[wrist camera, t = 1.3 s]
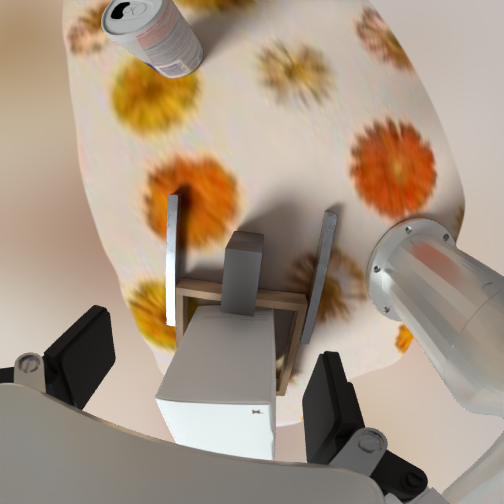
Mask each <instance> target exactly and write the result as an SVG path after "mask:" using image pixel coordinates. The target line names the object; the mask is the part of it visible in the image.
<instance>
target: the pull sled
mask: <svg viewBox="0 0 504 504" xmlns="http://www.w3.org/2000/svg"><path fill="white" fill-rule="evenodd" d="M263 240H264V235H263V234H255V233H247V232H239V231H234V233H233V235H232V237H231V239H230V241H229V242H228V244H227V246H226V248H225V260H224V272H223V284H220V283H213V282H206V281H200V280H193V279H186V278H182V279H181V280H180V282H179V283H178V285H177V286H176V345H177V349H178V346H179V344H180V342H181V340H182V338H183V336H184V334H185V332H186V330H187V328H188V313H189V296H190V297H196V298H203V299H209V300H216V301H221V310H220V312H223V313H230V314H237V315H244V316H252V317H254V311H255V306H260V307H268V308H276V309H285V310H294V315H293V320H292V324H291V329H290V334H289V338H288V342H287V347H286V351H285V356H284V360H283V364H282V368H281V372H280V376H279V378H276V396H285V392H286V389H287V385H288V382H289V378H290V374H291V371H292V367H293V363H294V359H295V355H296V352H297V348H298V344H299V340H300V336H301V332H302V327H303V323H304V319H305V315H306V310H307V306H308V304H307V300H306V296H305V294H299V293H291V292H282V291H274V290H266V289H258V282H259V274H260V267H261V259H262V251H263Z"/></svg>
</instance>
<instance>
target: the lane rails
mask: <svg viewBox="0 0 504 504" xmlns="http://www.w3.org/2000/svg"><path fill="white" fill-rule="evenodd" d="M181 209H182V194H179V193H172V194H169V196H168V214H167V243H166V302H167V325H171V326H176V286H177V285H178V283H179V251H180V227H181ZM336 221H337V214H335V213H334V212H327V211H325V213H324V219H323V225H322V230H321V236H320V242H319V247H318V252H317V258H316V263H315V268H314V273H313V278H312V282H311V287H310V292H309V297H308V301H307V304H308V306H307V310H306V315H305V319H304V323H303V327H302V332H301V336H300V344H309V342H310V338H311V334H312V330H313V327H314V323H315V319H316V315H317V311H318V307H319V302H320V298H321V294H322V290H323V285H324V281H325V276H326V272H327V267H328V262H329V257H330V253H331V248H332V242H333V237H334V232H335V226H336Z"/></svg>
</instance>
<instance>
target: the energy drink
mask: <svg viewBox="0 0 504 504" xmlns="http://www.w3.org/2000/svg"><path fill="white" fill-rule="evenodd" d="M101 25H102V29H103V30H104V32H105V34H106V35H107V37H108V38H109V39H110V40H112V41H113V42H115V43H116V44H118V45H119V46H121V47H122V48H124V49H125V50H127V51H128V52H130V53H131V54H133V55H134V56H136V57H137V58H139V59H140V60H141V61H143V62H144V63H146V64H147V65H148V66H150V67H151V68H153V69H154V70H155V71H157V72H158V73H160V74H161V75H163V76H164V77H167V78H180V77H184V76H186V75H188V74H190V73H191V72H193V71H194V70H195V69H196V68H197V67H198V65H199V64H200V62H201V60H202V57H203V48H202V45H201V43H200V42H199V40H198V39H197V37H196V36H195V34H194V33H193V31H192V29H191V28H190V26H189V25H188V23H187V22H186V20H185V19H184V17H183V16H182V14H181V13H180V11H179V10H178V8H177V7H176V5H175V4H174V2H173V1H172V0H112V1H111V2H110V4H109V5H108V6H107V8H106V9H105V11H104V13H103V16H102V20H101Z"/></svg>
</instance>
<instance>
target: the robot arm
mask: <svg viewBox="0 0 504 504" xmlns="http://www.w3.org/2000/svg"><path fill="white" fill-rule="evenodd" d="M406 227H407V229H406ZM375 266H376V267H375ZM374 267H375V268H374ZM366 280H367V290H368V293H369V297H370V299H371V301H372V303H373V304H374V306H375V307H376V308H377V310H378V311H379V312H380V313H381V314H382V315H383V316H385V317H387V318H389V319H391V320H395V321H402V322H403V323H404V324H405V325H406V327H407V328H408V330H409V331H410V332H411V334H412V335H413V337H414V338H415V340H416V341H417V342H418V344H419V345H420V347H421V348H422V350H423V351H424V353H425V354H426V355H427V357H428V358H429V360H430V361H431V363H432V364H433V366H434V367H435V369H436V371H437V372H438V373H439V375H440V377H441V378H442V380H443V381H444V383H445V385H446V386H447V387H448V389H449V390H450V392H451V393H452V395H453V397H454V398H455V399H456V401H457V402H458V403H459V404H460V405H461V406H462V407H463V408H465V409H466V410H468V411H470V412H473V413H476V414H483V415H495V416H499V417H502V418H503V419H504V276H502V275H500V274H499V273H497V272H496V271H494V270H492V269H491V268H489V267H488V266H486V265H484V264H483V263H481V262H480V261H478V260H476V259H475V258H473V257H471V256H469V255H468V254H466V253H464V252H462V251H461V250H459V249H457V247H456V244H455V241H454V239H453V237H452V235H451V234H450V232H449V231H448V230H447V229H446V228H445V227H444V226H442V225H441V224H439V223H438V222H435V221H433V220H430V219H426V218H413V219H409V220H406V221H404V222H402V223H399V224H397V225H396V226H395V227H393V228H392V229H391V230H389V231H388V232H387V233H386V234H385V235H384V236H383V238H382V239H381V240H380V241H379V243H378V244H377V246H376V247H375V249H374V251H373V254H372V256H371V258H370V261H369V265H368V269H367V277H366ZM115 358H116V357H115V350H114V344H113V336H112V328H111V319H110V313H109V312H107V309H106V308H104V307H101V306H98V305H94V306H92V307H91V308H90V309H89V310H88V311H87V312H86V313H85V314H84V315H83V316H81V317H80V318H79V319H78V320H77V321H76V322H75V323H74V324H73V325H72V326H71V327H70V328H69V329H68V330H67V331H66V332H65V333H63V334H62V336H60V337H59V338H58V339H57V340H56V341H55V342H54V343H53V344H52V345H51V346H50V347H49V348H48V349H47V350H46V351H45V352H44V356H43V357H41V356H40V355H38V354H36V353H25V354H23V355H21V356H19V357H18V358H17V360H16V361H15V366H14V367H9V368H2V369H0V504H504V431H503V433H502V434H501V435H500V436H499V438H498V439H497V440H496V441H495V442H494V444H493V445H492V446H491V447H490V448H489V449H488V450H487V451H486V452H485V453H484V455H482V456H481V457H480V458H479V459H478V460H477V461H476V462H475V463H474V464H473V465H472V466H471V467H470V468H469V469H468V470H467V471H465V472H464V473H463V474H462V475H461V476H460V477H459V478H458V479H457V480H456V481H454V482H453V483H452V484H451V485H450V486H449V487H448V488H447V489H446V490H445V491H444V492H443V493H442V494H441V495H440V494H439V493H438V492H437V491H436V490H435V489H434V488H433V487H432V488H431V489H430V488H428V487H427V484H428V479H427V476H426V474H425V473H424V471H422V470H421V469H419V468H418V467H416V466H414V465H412V464H411V463H409V462H407V461H405V460H404V459H402V458H400V457H398V456H397V455H395V454H393V453H392V452H390V451H388V450H387V446H388V443H387V439H386V437H385V436H384V435H383V433H382V432H380V431H379V430H377V429H374V428H365V425H364V421H363V417H362V414H361V411H360V407H359V404H358V400H357V397H356V393H355V390H354V387H353V384H352V383H351V382H347V379H346V376H345V372H344V369H343V366H342V362H341V359H340V356H339V353H338V352H331V351H325V352H324V354H320V355H319V357H318V360H317V362H316V365H315V368H314V370H313V373H312V375H311V378H310V380H309V383H308V386H307V388H306V390H305V393H304V395H303V400H302V406H303V417H304V427H305V428H304V429H305V442H306V455H307V463H299V462H285V461H274V460H264V459H256V458H248V457H240V456H234V455H227V454H222V453H216V452H211V451H206V450H201V449H197V448H192V447H188V446H184V445H180V444H175V443H172V442H168V441H164V440H161V439H158V438H154V437H151V436H148V435H144V434H141V433H139V432H136V431H133V430H130V429H127V428H124V427H121V426H119V425H116V424H113V423H111V422H108V421H106V420H103V419H101V418H98V417H96V416H94V415H91V414H89V413H87V412H84V411H82V410H83V408H84V407H85V405H86V404H87V402H88V401H89V399H90V398H91V396H92V395H93V393H94V392H95V390H96V389H97V388H98V386H99V385H100V383H101V382H102V380H103V379H104V377H105V376H106V374H107V373H108V372H109V370H110V369H111V367H112V366H113V365H114V363H115Z"/></svg>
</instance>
